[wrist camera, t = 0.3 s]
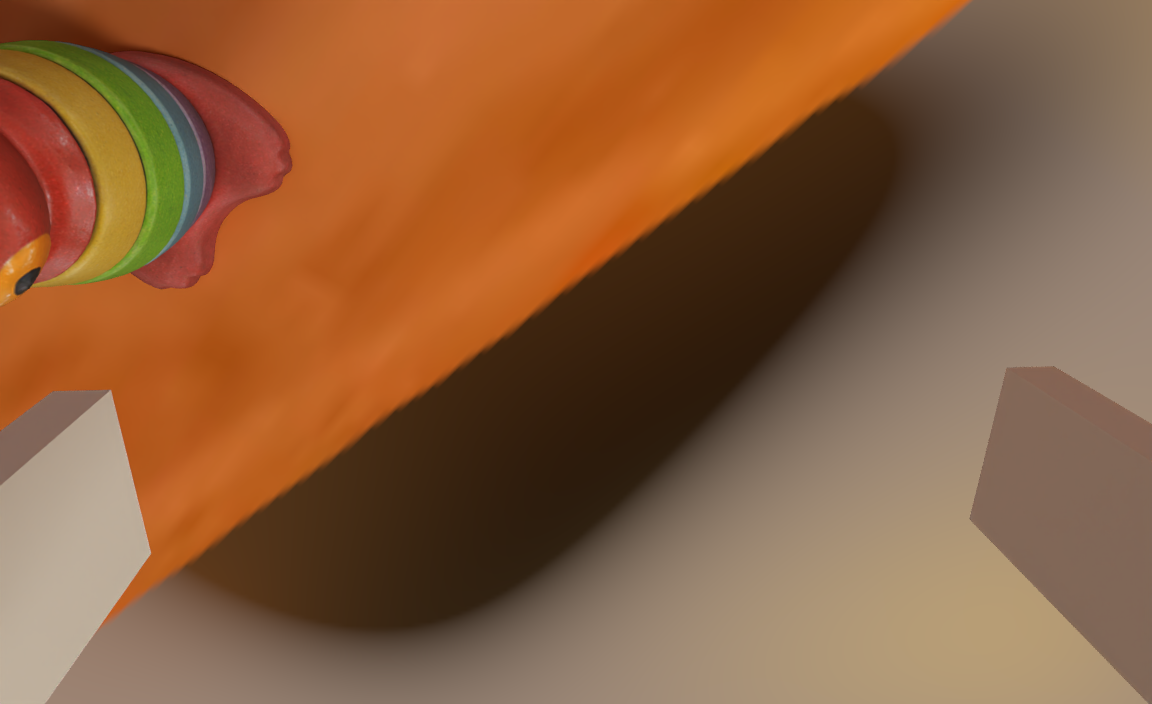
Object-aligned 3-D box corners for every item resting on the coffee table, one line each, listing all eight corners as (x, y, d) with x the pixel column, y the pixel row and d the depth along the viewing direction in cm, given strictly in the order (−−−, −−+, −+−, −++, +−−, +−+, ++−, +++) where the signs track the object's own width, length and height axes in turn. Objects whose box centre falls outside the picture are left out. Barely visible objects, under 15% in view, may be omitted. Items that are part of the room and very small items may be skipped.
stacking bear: (184, 302, 39) (-111, 471, 22) (11, 162, 37) (-464, 234, 20) (312, 150, 36) (84, 213, 20) (134, -12, 34) (-297, -96, 17)
